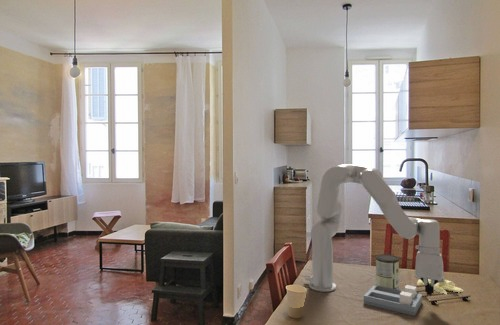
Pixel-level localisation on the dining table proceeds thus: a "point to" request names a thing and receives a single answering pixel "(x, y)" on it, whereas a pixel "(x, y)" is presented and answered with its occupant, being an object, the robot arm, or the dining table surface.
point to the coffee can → (387, 271)
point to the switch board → (391, 300)
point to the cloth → (443, 286)
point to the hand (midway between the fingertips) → (429, 294)
